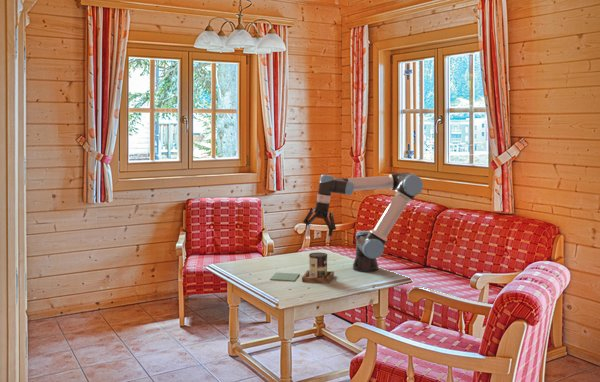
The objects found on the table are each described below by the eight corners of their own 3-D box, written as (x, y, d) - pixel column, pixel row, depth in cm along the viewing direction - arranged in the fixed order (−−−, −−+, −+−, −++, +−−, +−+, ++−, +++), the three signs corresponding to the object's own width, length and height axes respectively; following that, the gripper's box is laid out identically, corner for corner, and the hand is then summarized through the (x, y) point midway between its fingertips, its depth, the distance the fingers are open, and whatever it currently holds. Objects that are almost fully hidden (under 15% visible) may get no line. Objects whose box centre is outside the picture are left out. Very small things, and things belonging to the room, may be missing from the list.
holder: (333, 275, 338) (333, 271, 337) (329, 283, 323) (329, 278, 322) (307, 274, 341) (307, 270, 341) (302, 281, 326) (302, 277, 326)
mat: (299, 274, 340) (299, 273, 340) (294, 281, 327) (294, 280, 326) (276, 273, 343) (276, 272, 343) (270, 280, 329) (270, 278, 329)
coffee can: (328, 276, 336) (328, 252, 334) (325, 281, 326) (325, 256, 324) (310, 275, 338) (310, 251, 336) (307, 280, 328) (307, 256, 326)
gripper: (301, 197, 334) (295, 234, 336) (339, 206, 321) (333, 244, 324) (307, 197, 340) (302, 233, 343) (345, 206, 328) (339, 243, 330)
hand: (317, 238), depth 333 cm, fingers open, 13 cm apart
